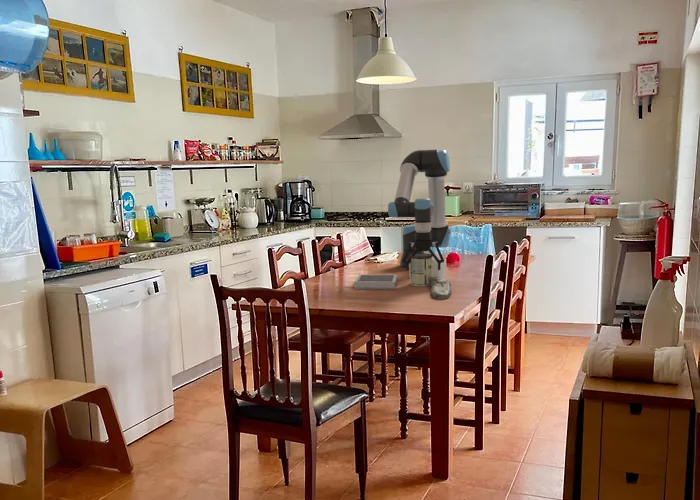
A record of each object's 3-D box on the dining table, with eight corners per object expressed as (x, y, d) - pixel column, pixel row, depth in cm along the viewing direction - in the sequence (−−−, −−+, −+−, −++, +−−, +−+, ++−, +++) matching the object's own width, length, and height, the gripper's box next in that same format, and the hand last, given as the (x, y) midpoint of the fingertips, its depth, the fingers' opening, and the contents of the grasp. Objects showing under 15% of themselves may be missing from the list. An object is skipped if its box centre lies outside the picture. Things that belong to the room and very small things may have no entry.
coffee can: (412, 281, 290) (412, 253, 288) (433, 282, 287) (434, 253, 285) (408, 286, 280) (408, 256, 278) (430, 286, 277) (430, 256, 275)
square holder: (359, 281, 294) (359, 274, 293) (396, 281, 291) (396, 274, 291) (354, 289, 276) (354, 281, 275) (394, 289, 273) (394, 282, 273)
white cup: (445, 280, 293) (445, 259, 291) (429, 279, 294) (429, 259, 293) (446, 277, 300) (446, 257, 299) (430, 276, 302) (430, 257, 301)
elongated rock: (428, 303, 253) (452, 305, 251) (429, 291, 252) (453, 292, 250) (429, 282, 287) (450, 284, 285) (429, 272, 286) (450, 273, 284)
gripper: (396, 232, 278) (397, 278, 280) (449, 231, 274) (449, 278, 277) (397, 231, 285) (398, 275, 287) (449, 230, 282) (449, 275, 284)
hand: (423, 277), depth 282 cm, fingers open, 12 cm apart
